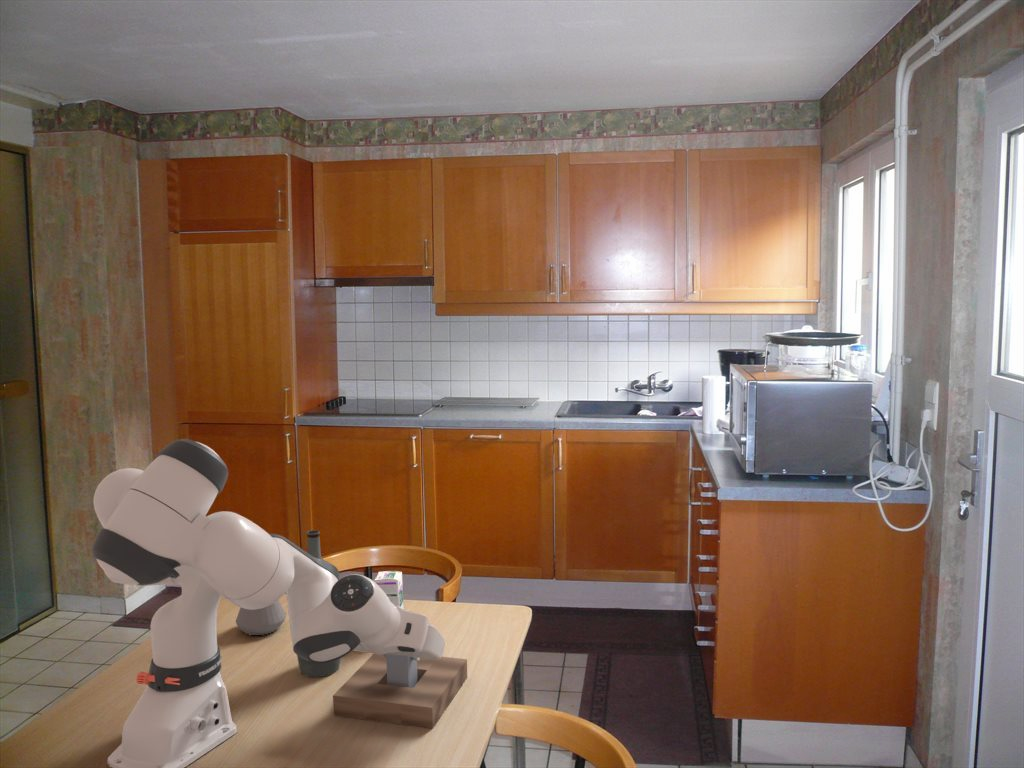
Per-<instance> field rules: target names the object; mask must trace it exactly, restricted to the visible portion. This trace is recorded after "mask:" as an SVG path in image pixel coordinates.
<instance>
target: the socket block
mask: <svg viewBox="0 0 1024 768" xmlns="http://www.w3.org/2000/svg"><path fill="white" fill-rule="evenodd" d="M417 678H418V682H417V684H416V685H415V686H414V688H411V687H402V686H394V685H387V664H386V657H383V656H382V655H377V654H372V655H371V656H369V658H368V659H367V660H366V661H365V662H364V663H363V664H362V665H361V666H360V667H359V668H358V669H357V670H356V671H355V672H354V673H353V674H352V675H351V677H349V678H348V679H347V681H346V682H344V684H343V685H342V686H341V687H340V688H338V690H337V691H335V693H334V694H333V695H332V703H333V704H332V705H333V707H332V708H333V716H334V717H342V718H350V719H357V720H365V721H373V722H382V723H389V724H396V725H404V726H411V727H420V728H429V729H434V728H435V726H436V725H437V724H438V722H439V721H440V719H441V717H442V716H443V715H444V713H445V712H444V711H447V708H449V706H450V704H451V703H452V702H453V700H454V698H455V696H456V695H457V694H458V692H459V691H460V689H462V687H463V685H464V684H463V683H465V682H466V681H467V679H468V659H467V658H458V657H448V656H442V657H441V658H440V659H438V660H435V659H427V658H420V660H419V661H417ZM465 680H466V681H465ZM452 699H453V700H452ZM442 714H443V715H442Z"/></svg>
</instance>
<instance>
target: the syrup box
mask: <svg viewBox="0 0 1024 768" xmlns="http://www.w3.org/2000/svg"><path fill="white" fill-rule="evenodd" d="M373 581H374V582H375V583H376V584H377V585H378V586H379V587H380V588H381V589H382V590H383V591H384V592H385V594H386V595H387V596H388V598H389V600H390V602H392V603H393V604H394V606H398V607H400V608H402V609H405V602H404V599H405V598H404V588H403V587H404V585H403V572H402V571H400V570H386V571H384V570H383V571H378V573H377V575H376V576H375V578H374V580H373Z"/></svg>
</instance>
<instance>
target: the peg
mask: <svg viewBox="0 0 1024 768" xmlns="http://www.w3.org/2000/svg"><path fill="white" fill-rule="evenodd" d="M386 664H387V685H394V686H402V687H411V688H414V686H415V685H416V684H417V682H418V678H417V661H414V660H411V659H410V657H408V656H399V655H389V654H386Z"/></svg>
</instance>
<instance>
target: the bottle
mask: <svg viewBox="0 0 1024 768" xmlns="http://www.w3.org/2000/svg"><path fill="white" fill-rule="evenodd" d="M320 534H321V532H320V531H319V530H318V529H311V530H308V531H307V532H306V539H307V541H306V543H307V544H306V545H307V546H306V547H307V553H308V554H310V555H311V556H313V557H315V558H318V559H322V560H324V558H323V557H322V552H321V539H320ZM296 656H297V662H298V667H299V669H300V672H301V674H302V675H304V676H306V677H310V678H322V677H328V676H330V675H332V674H334V673H337V672H338V670H339V669H340V665H341V661H342V658H340V659H337V660H335V661H332V662H328V663H314V662H311V661H308V660H305V659H303V658H301V657H299V656H298V655H297V654H296Z"/></svg>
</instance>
